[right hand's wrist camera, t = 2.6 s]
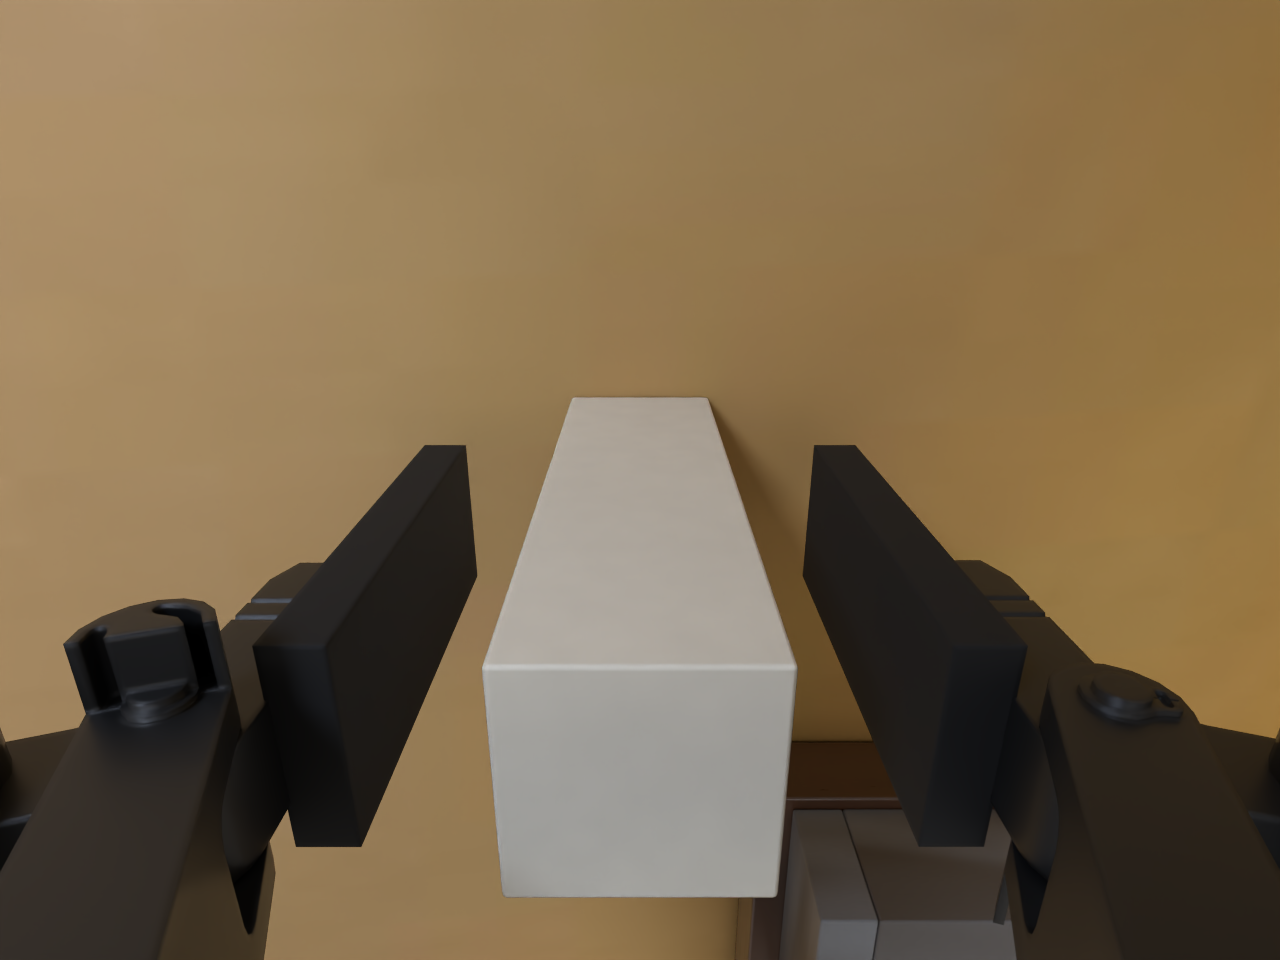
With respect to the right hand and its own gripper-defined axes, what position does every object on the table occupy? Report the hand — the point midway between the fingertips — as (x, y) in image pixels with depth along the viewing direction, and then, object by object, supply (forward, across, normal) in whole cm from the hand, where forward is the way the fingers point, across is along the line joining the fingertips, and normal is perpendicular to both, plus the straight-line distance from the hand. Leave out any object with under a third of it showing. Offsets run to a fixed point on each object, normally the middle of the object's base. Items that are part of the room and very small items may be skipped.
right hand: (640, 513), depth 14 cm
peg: (+3, 0, 0) cm, 3 cm away
